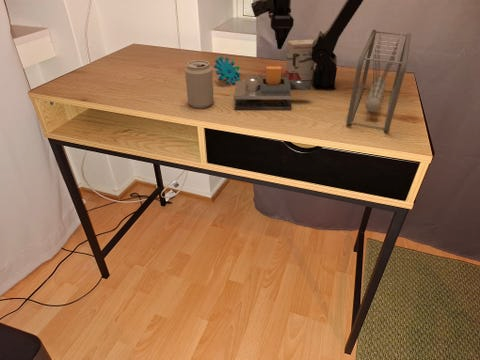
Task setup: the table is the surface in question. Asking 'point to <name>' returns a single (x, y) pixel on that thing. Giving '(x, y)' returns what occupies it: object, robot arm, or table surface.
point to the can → (199, 83)
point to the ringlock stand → (266, 93)
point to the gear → (227, 70)
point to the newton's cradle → (379, 78)
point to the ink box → (299, 60)
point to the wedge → (273, 74)
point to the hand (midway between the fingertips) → (278, 44)
